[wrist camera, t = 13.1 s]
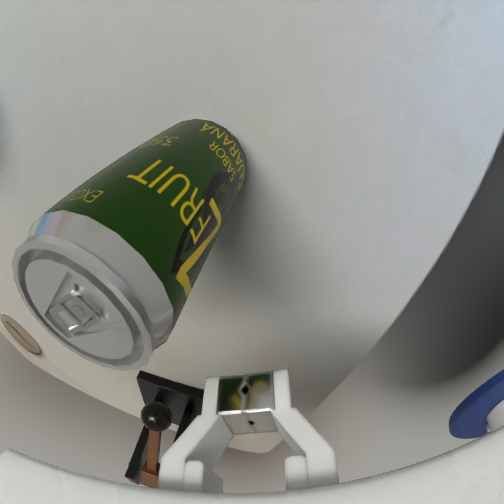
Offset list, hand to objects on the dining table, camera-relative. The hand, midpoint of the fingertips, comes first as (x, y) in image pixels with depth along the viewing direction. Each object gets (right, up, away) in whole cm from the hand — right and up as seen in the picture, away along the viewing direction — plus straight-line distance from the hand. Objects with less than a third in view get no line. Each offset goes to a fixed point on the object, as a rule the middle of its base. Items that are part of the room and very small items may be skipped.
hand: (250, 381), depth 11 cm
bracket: (-10, -15, +25) cm, 31 cm away
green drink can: (-3, +10, +6) cm, 12 cm away
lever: (-10, -16, +18) cm, 26 cm away
